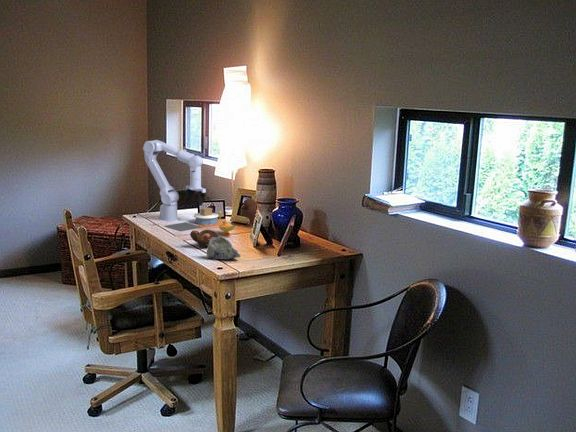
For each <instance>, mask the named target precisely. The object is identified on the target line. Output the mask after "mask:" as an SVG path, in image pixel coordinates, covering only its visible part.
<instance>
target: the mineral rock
mask: <svg viewBox="0 0 576 432" xmlns="http://www.w3.org/2000/svg"><path fill="white" fill-rule="evenodd" d="M206 248H207V249H206V258H207V259H214V260H219V259H220V260H230V259H232V260H234V259H236V258H241V257H242V255H241V254H240V253H239V251H238V250H237V249H235V247H233V245H232V243H231V241H230V240H228V239H227V238H225V237H223V235H219V236H218V237H217V238H216V237H211V239H210V241H209V244H208V246H207V247H206Z"/></svg>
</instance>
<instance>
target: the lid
mask: <svg viewBox="0 0 576 432" xmlns="http://www.w3.org/2000/svg"><path fill="white" fill-rule="evenodd" d="M219 216H220V214H218V213H215V212H213V209H212V208H211V207H203V208H200V212H197V213H194V214H193V217H194V218H195V219H196V218H201V219H211V218H217V217H218V218H219Z"/></svg>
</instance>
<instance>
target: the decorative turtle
mask: <svg viewBox="0 0 576 432" xmlns="http://www.w3.org/2000/svg"><path fill="white" fill-rule="evenodd" d="M189 236H190V238H191V239H192V240H193V241H194V242H196V243H197V245H198V246H199V248H200V249H204V247H205V246H207V247H208V244H209V241H210V239H211V237H216V238H217V237H218V236H220V234H219V233H218V232H216V231H214V230H212V229H203V230H201V231H198V230H197V229H193V230H191V232H190V235H189Z"/></svg>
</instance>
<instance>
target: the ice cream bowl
mask: <svg viewBox="0 0 576 432" xmlns="http://www.w3.org/2000/svg"><path fill="white" fill-rule="evenodd" d="M256 203H257V202H256V201H255V199H253V198H249V197H248V198H246V199H245V200H244V201H243V207H241V208H240V211H241V213H242V215H243V216H244V218H246V219H248V220H249V223H247V224H246V225H245V227H246V228H253V227H252V223H253V224H254V219H255V218H254V217H255V214H256Z"/></svg>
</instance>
